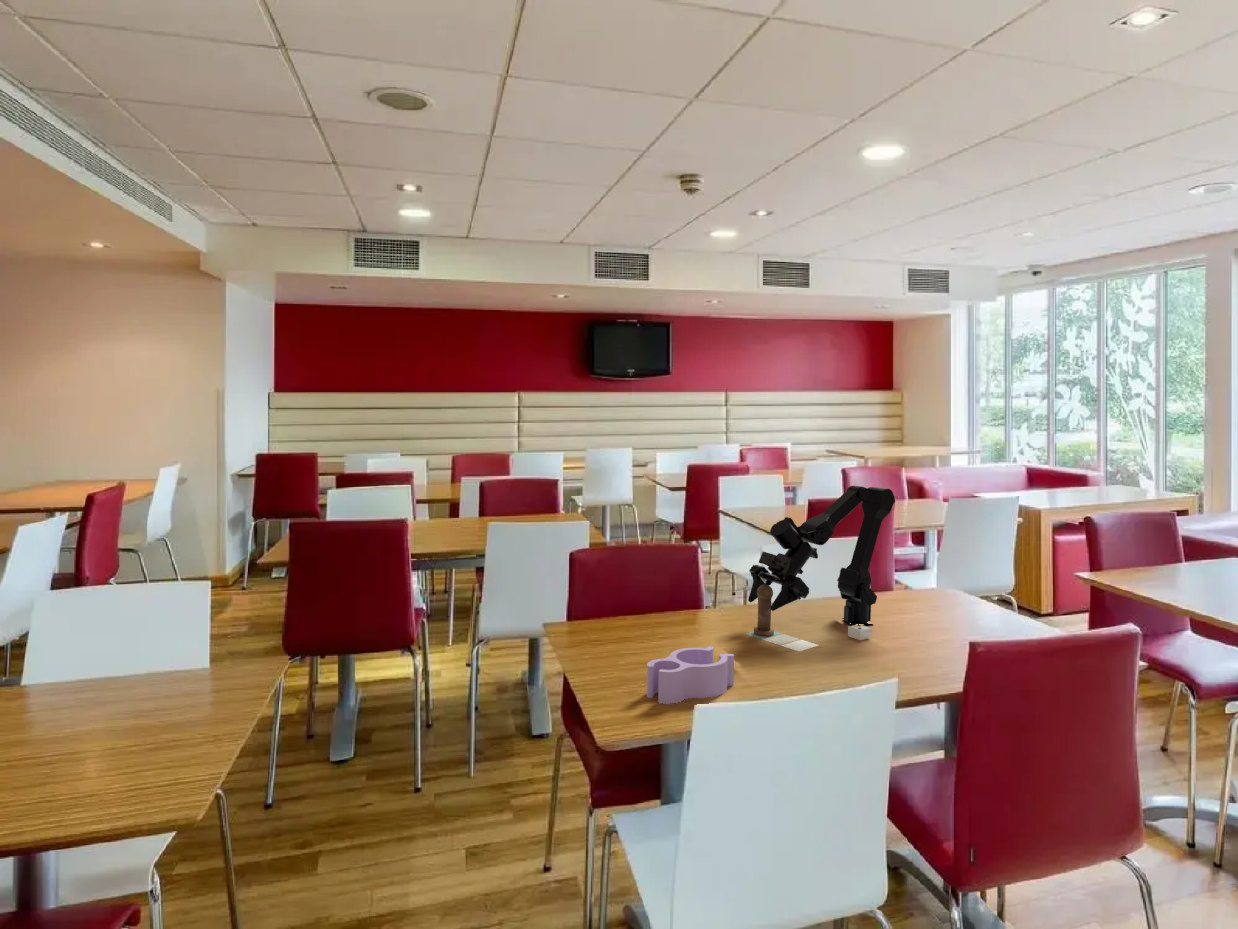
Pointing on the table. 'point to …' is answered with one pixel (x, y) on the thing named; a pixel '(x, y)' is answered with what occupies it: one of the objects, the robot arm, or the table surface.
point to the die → (859, 632)
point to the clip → (689, 675)
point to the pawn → (764, 612)
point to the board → (786, 641)
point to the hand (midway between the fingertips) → (760, 605)
